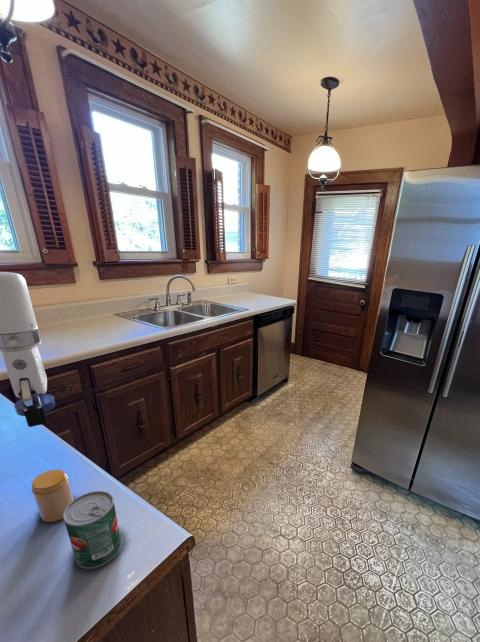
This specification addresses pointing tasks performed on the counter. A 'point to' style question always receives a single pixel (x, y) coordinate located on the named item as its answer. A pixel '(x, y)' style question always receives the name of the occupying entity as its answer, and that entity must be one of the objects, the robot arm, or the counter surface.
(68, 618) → the counter surface
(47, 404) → the jar lid
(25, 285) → the robot arm
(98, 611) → the counter surface
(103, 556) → the canned tomato
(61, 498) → the jam jar
